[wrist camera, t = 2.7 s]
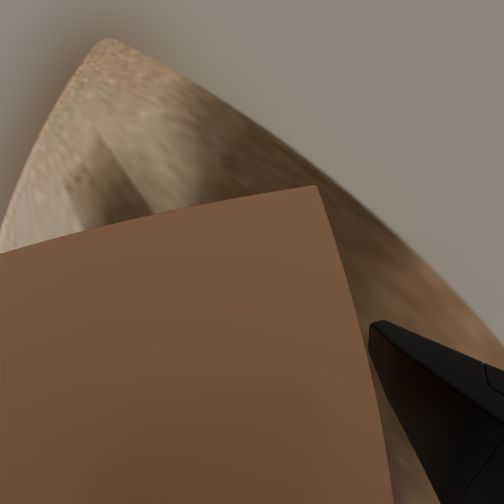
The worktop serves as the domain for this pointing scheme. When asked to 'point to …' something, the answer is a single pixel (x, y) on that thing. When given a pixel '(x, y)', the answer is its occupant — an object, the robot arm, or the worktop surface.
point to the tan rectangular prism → (188, 363)
